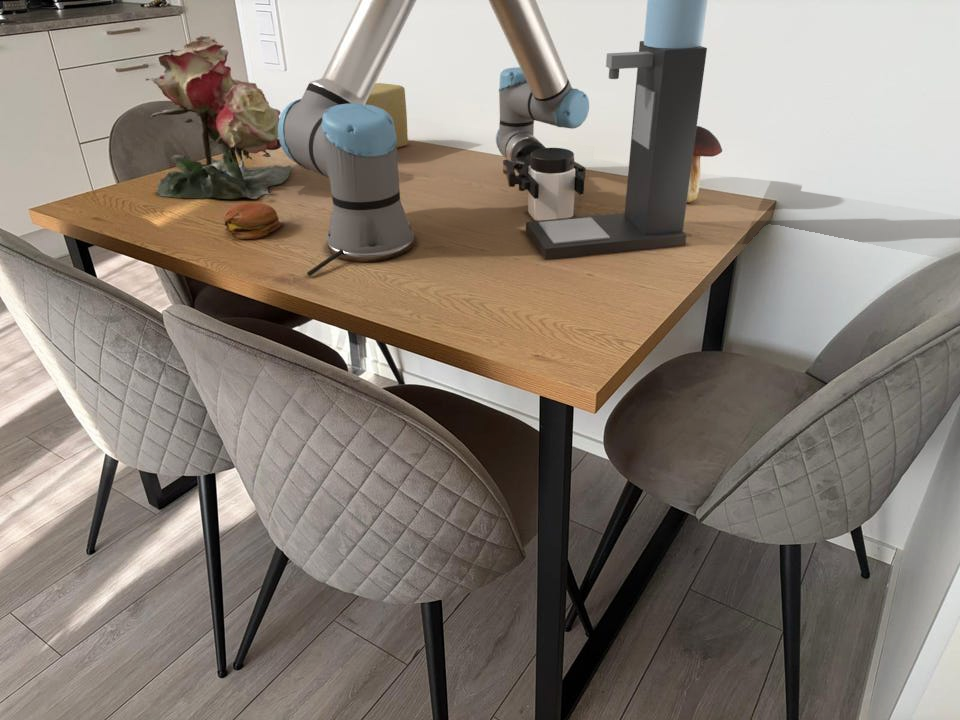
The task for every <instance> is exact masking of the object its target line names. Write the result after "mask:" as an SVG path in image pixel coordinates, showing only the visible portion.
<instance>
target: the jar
mask: <svg viewBox="0 0 960 720" xmlns="http://www.w3.org/2000/svg"><path fill="white" fill-rule="evenodd" d="M574 161H575V153H574V152H573V151H572V150H570V149H567V148H562V147H546V148H541V149H537V150H534V151H533V152H531V156H530V166H529V174H530V175H531V176H532V177H533V178H534V180H536V182H537V183H538V184H539V195H538V198H537V199H534V198H533V196H532V195H531V194H530V193H529V191H528V190H527V195H528V196H527V213H528V214H529V215H530V217H531V218H532V219H533V221H541V220H552V219H563V218H573V217H574V208H575V190H574V188H575V168H573V166H574Z"/></svg>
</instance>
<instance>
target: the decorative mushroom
mask: <svg viewBox="0 0 960 720" xmlns="http://www.w3.org/2000/svg"><path fill="white" fill-rule="evenodd" d="M722 152H723V148H722V146H721V143H720V141H719V139H718V138H717V137H716V136H715V134H713V132H711V131H710V130H709V129H707V128H705V127H703V126H700V125H697V128H696V135H695V143H694V150H693V158H692V165H691V173H690V180H689V188H688V196H687V203H692V202H694V201H696V200H697V198H698V195H699V192H700V183H701V157H704V158H705V157H710V158H711V157H712V158H713V157H716V156H718V155H720V154H721V153H722Z"/></svg>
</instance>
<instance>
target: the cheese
mask: <svg viewBox="0 0 960 720" xmlns="http://www.w3.org/2000/svg"><path fill="white" fill-rule="evenodd" d="M406 99H407V98H406V91H405V87H404V86H402V85H400V84H393V83H392V84H391V83H385V82H383V83H382V82H376V83H375V85H374V87H373V89H372V91H371V93H370V95H369V97H368V99H367V101H366V105H372V106H376V107H379V108H381V109H383V110H385V111H386V112H387V113H389V115H390V116H391V117H392V119H393V122H394V127H395V133H396V137H397V143H396V148H401V147H405V146H407V145H409V140H408V139H409V138H408V137H409V136H408V135H409V134H408V116H407V115H408V114H407V101H406Z"/></svg>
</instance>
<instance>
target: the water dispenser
mask: <svg viewBox="0 0 960 720" xmlns="http://www.w3.org/2000/svg"><path fill="white" fill-rule="evenodd" d="M707 6H708V0H647V3H646V14H645V26H644V36H643V40H640V41H639V45H638V46H639V47H638V51H627V52H609V53H606V60H605V67H606V68H608V79H610V80H618V79H619V78H620V70H622V69H636V79H635V80H636V82H635V90H634V91H635V92H634V102H633V103H634V104H633V114H632V125H631V136H630V137H631V138H630V149H629V160H628V173H627V184H626V195H625V196H626V197H625V205H624V212H618V213H605V214H595V215H585V216H573V217H570V218H563V219H552V220H541V221H535V220H531V221H525V233H526V235H527V236H528V238H529V239H530V240H531V242H532V244H533V245H534V246H535V248H536V249H537V250H538V252H539V253H540V254H541V256H542V257H543V259H544V260H554V259H564V258H573V257H585V256H594V255H601V254H602V255H603V254H604V255H605V254H614V253H623V252H632V251H641V250H642V251H644V250H652V249H663V248H670V247H672V248H673V247H680V246H681V247H682V246H686V243H687V242H686V241H687V234H686V232H684V226H685V225H684V224H685V219H686V218H685V217H686V212H687V211H686V210H687V203H688V202H687V196H688V188H689V180H690V173H691V165H692V158H693V150H694V143H695V135H696V128H697V126H698V119H699V111H700V105H701V104H700V103H701V98H702V89H703V81H704V74H705V67H706V59H707V51H708V47H705V46H703V38H704V29H705V21H706V14H707Z"/></svg>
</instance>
